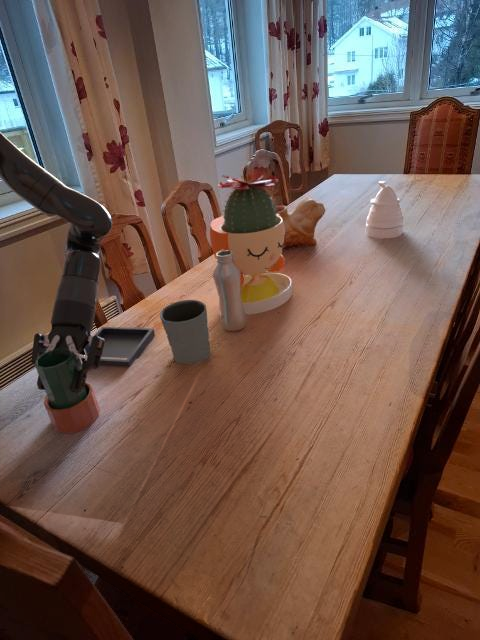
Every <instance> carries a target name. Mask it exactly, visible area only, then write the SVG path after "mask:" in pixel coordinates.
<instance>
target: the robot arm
mask: <svg viewBox="0 0 480 640" xmlns="http://www.w3.org/2000/svg"><path fill="white" fill-rule="evenodd" d="M0 179H1V180H2V182H3V183H4V184H5V185H6V186H7V187H8V188H9V189H10V190H11V191H12V192H13V193H15V194H16V196H18V197H19V198H21V199H22V200H24V201H25V202H26V203H27V204H29V205H30V206H32V207H33V208H34V209H36V210H37V211H39V212H40V213H42V214H43V215H45V216H47V217H50V218H54V217H60V218H61V219H63V220H65V221H67V222H68V223H69V225H68V229H67V234H66V235H67V236H66V245H65V246H66V249H65V252H66V254H65V259H64V262H63V266H62V271H61V275H60V280H59V283H58V285H57V288H56V293H55V298H54V303H53V309H52V314H51V318H50V323H51V330H50V331H49V332H48V333H47V334H41V333H35V334H34V336H33V343H32V351H31V358H30V359H31V361H30V363H31V364H32V365H34V366H35V360H36V359H37V358H38V357H39V356H41V355H42V354H43V353H45V352H48V351H50V350H52V351H53V350H54V349H57V348H67V349H69V350H70V351H72V353H73V356H74V359H75V363H76V365H75V366H76V369H77V371H75V373H74V379H73V383H72V389H71V390H72V392H76V393H81V392H82V390H83V389H84V387H85V382H87V377H88V373H89V372H90V371H93V370H95V371H96V370H98V369H99V367H100V365H99V363H100V359H102V357H101V355H102V351H103V347H104V343H105V340H104V339H103V338H101V337H99V336H94V335H92V334H91V331H92V330H93V328H94V324H95V323H94V322H95V316H96V312H97V305H98V298H99V285H100V279H101V275H102V267H103V262H102V259H101V257H100V256H101V255H100V254H101V248H102V243H103V241H104V239H105V238H106V237H107V236H108V235H109V234H110V233H111V231H112V229H113V225H114V224H113V218H112V216H111V214H110V213H109V211H108V210H107V209H106V208H105V207H104V206H103V205H102V204H101V203H99V202H97V200H95V199H93V198H91V197H90V196H87V195H85V194H83V193H81V192H80V191H77V190H75V189H74V188H73V189H72V188H70V187H69V186H66V184H64V183H63V182H62V181H61V180H59V179H58V178H57V177H55V176H54V175H53V174H51V172H48V170H46V169H45V168H43V167H42V166H41V165H40V164H38V163H36V162H35V160H33V159H32V158H31V157H29V156H28V155H27V154H26V153H24V152H23V151H22V150H20V148H19V147H18V146H16V145H15V144H14V143H13V142H11V140H9V139H8V138H7V137H6V136H5V135H4V134H3V133H2V132H0ZM88 344H89V346H90V349H89V353H88V356H87V354H86V350H85V348H86V346H87V345H88ZM51 353H52V352H51ZM51 353H50V354H51ZM64 354H66V355H70V353H69V352H67V351H66V350H64V349H63V350H60V351H58V352H57V353H56V355H64ZM49 356H50V355H49ZM49 356H48V357H49ZM37 375H38V376H37V380H36V386H37V389H38V390H41V391H45V388H44V386H43V384H42V381H41V379H40V376H39V374H37Z"/></svg>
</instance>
